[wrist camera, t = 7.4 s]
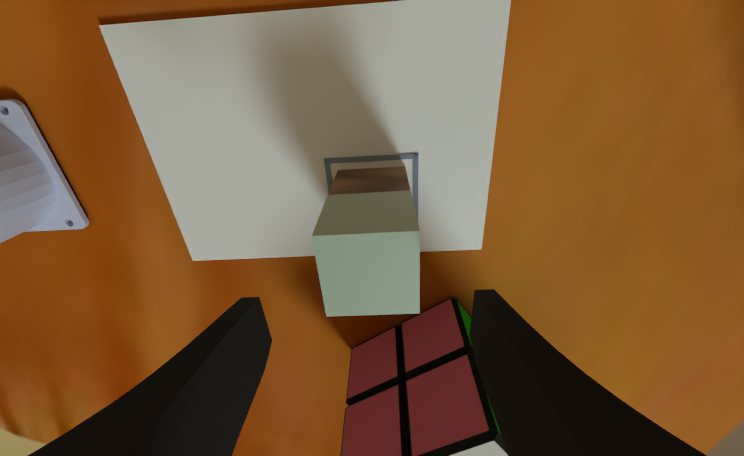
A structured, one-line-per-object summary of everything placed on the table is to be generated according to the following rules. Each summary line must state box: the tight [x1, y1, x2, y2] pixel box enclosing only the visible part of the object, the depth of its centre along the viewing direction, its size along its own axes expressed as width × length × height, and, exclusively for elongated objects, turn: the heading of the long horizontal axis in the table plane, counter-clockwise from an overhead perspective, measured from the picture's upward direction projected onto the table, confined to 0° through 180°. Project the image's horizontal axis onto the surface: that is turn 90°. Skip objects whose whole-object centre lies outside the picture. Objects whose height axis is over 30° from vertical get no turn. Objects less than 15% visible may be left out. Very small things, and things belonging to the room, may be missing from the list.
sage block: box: [312, 190, 420, 317], centre depth 14 cm, size 4×4×4 cm
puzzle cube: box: [340, 298, 508, 456], centre depth 22 cm, size 10×10×10 cm
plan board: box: [99, 0, 511, 261], centre depth 18 cm, size 20×14×1 cm
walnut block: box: [328, 166, 410, 195], centre depth 18 cm, size 4×4×4 cm
